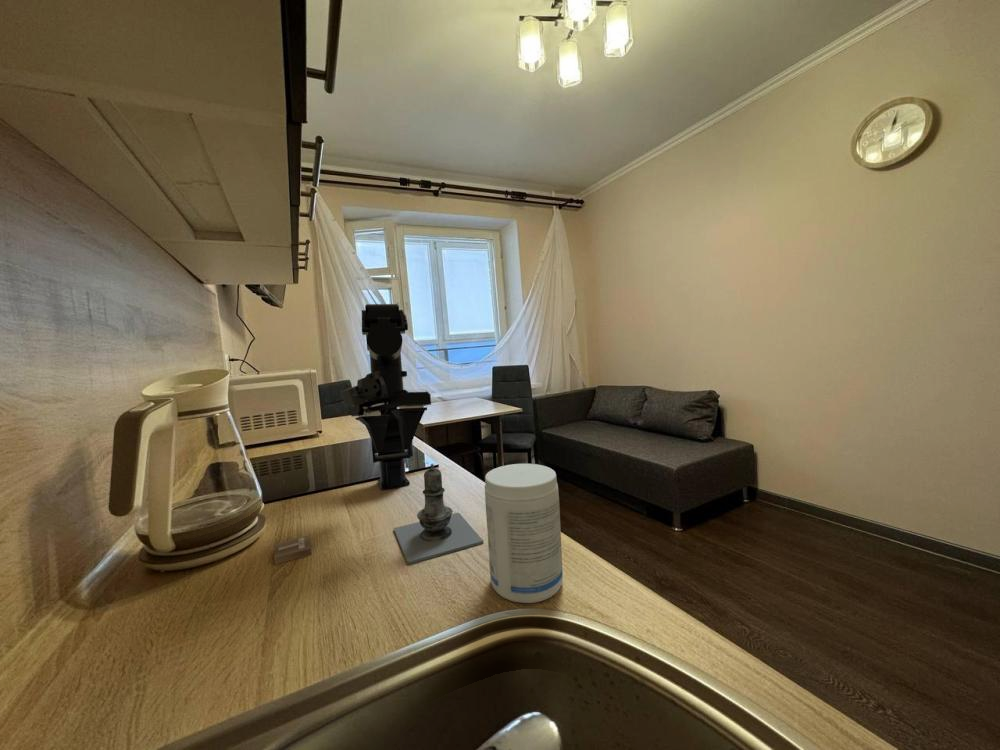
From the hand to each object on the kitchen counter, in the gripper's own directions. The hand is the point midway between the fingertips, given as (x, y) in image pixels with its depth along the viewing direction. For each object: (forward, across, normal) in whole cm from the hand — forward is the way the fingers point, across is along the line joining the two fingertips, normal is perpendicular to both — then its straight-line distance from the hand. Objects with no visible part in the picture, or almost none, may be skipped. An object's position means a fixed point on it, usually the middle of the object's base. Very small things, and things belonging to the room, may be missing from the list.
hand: (392, 450), depth 69 cm
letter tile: (+14, -6, -15) cm, 22 cm away
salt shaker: (+15, +9, +2) cm, 17 cm away
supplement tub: (+19, +28, +1) cm, 34 cm away
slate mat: (+15, +9, +2) cm, 17 cm away
